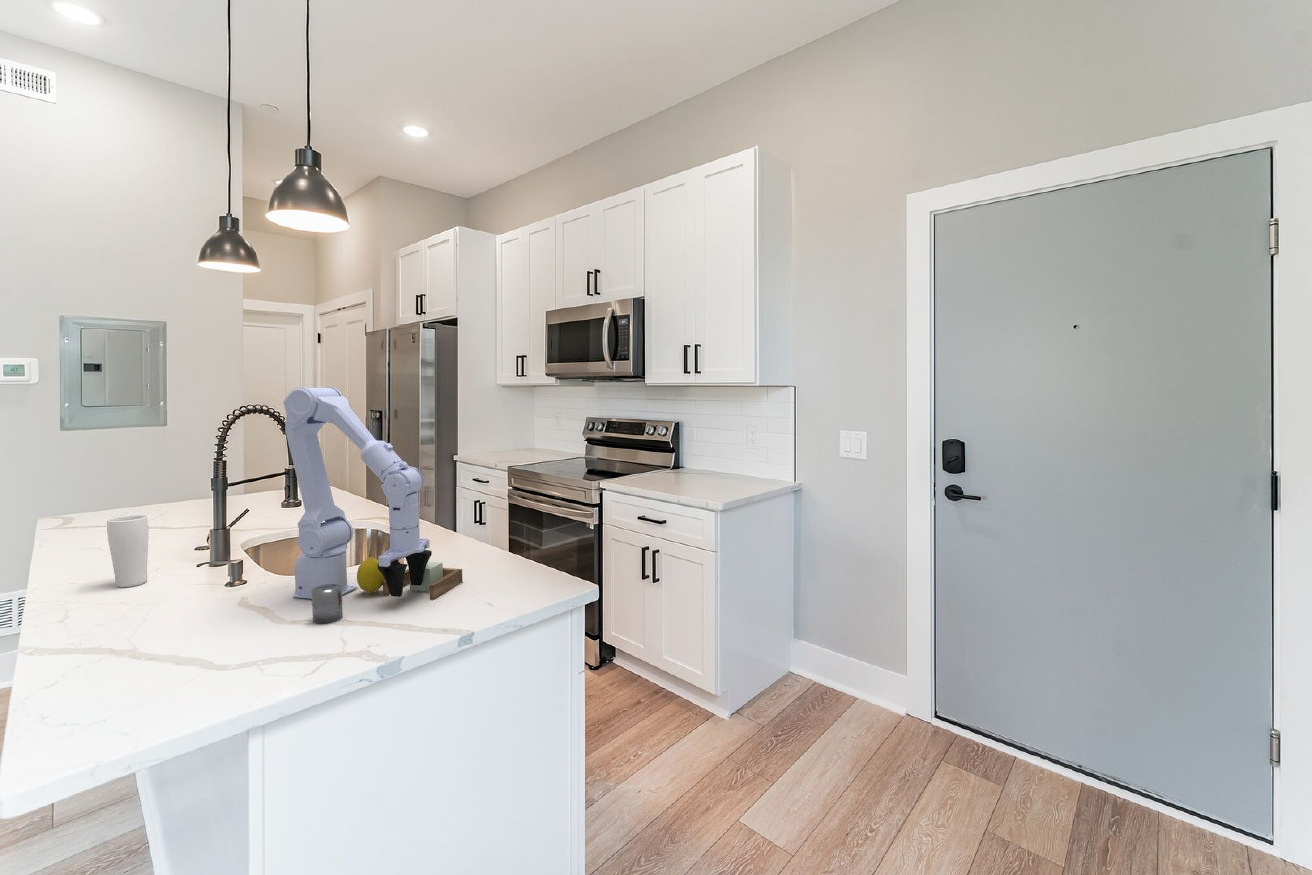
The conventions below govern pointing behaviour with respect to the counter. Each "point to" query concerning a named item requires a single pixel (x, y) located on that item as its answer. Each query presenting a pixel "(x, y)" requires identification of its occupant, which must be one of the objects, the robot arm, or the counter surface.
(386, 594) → the corral
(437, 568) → the block
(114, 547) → the drinking glass
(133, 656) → the counter surface
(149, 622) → the counter surface
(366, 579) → the lemon
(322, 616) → the can
